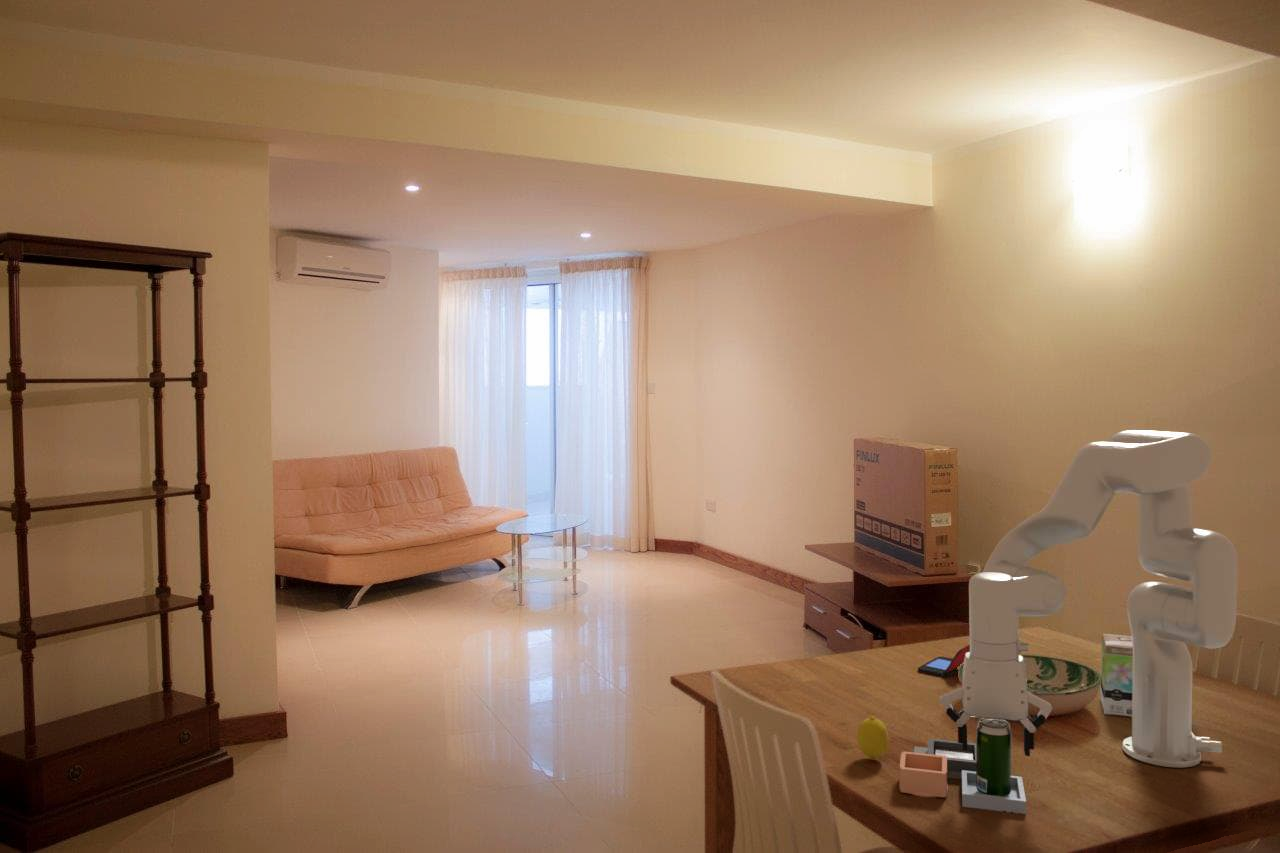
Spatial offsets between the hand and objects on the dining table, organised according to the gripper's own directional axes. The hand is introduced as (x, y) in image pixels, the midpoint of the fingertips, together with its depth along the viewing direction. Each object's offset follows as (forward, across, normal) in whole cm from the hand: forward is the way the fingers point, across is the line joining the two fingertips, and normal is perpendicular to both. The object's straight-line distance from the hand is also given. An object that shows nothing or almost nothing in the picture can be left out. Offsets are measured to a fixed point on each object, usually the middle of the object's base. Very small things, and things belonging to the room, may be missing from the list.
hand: (995, 750), depth 154 cm
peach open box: (+8, +12, 0) cm, 14 cm away
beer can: (+7, 0, 0) cm, 8 cm away
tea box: (+10, -30, -50) cm, 59 cm away
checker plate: (+7, +7, -11) cm, 14 cm away
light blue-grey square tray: (+8, +1, 0) cm, 8 cm away
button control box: (+8, +7, -10) cm, 15 cm away
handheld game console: (+9, +7, -68) cm, 69 cm away
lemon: (+8, +21, -10) cm, 24 cm away
